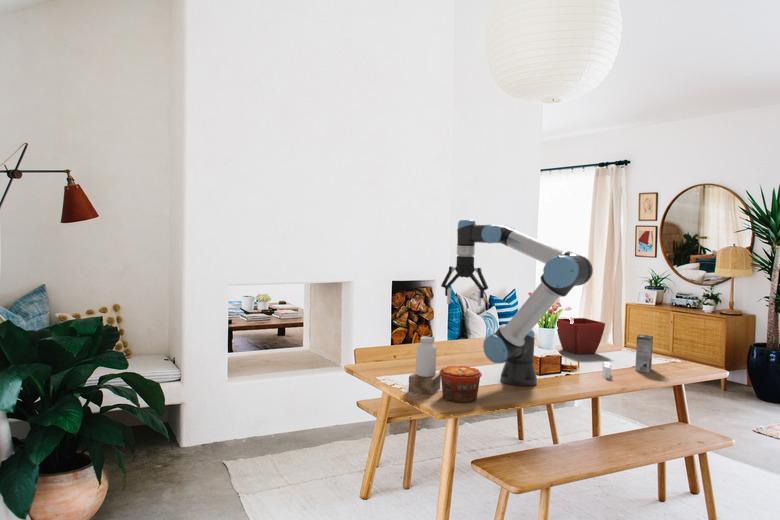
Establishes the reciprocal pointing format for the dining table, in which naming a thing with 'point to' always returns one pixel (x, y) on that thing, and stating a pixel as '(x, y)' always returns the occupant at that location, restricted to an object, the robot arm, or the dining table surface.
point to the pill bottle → (426, 357)
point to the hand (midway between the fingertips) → (463, 304)
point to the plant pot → (580, 335)
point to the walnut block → (424, 383)
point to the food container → (460, 383)
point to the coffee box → (644, 353)
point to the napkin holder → (606, 370)
